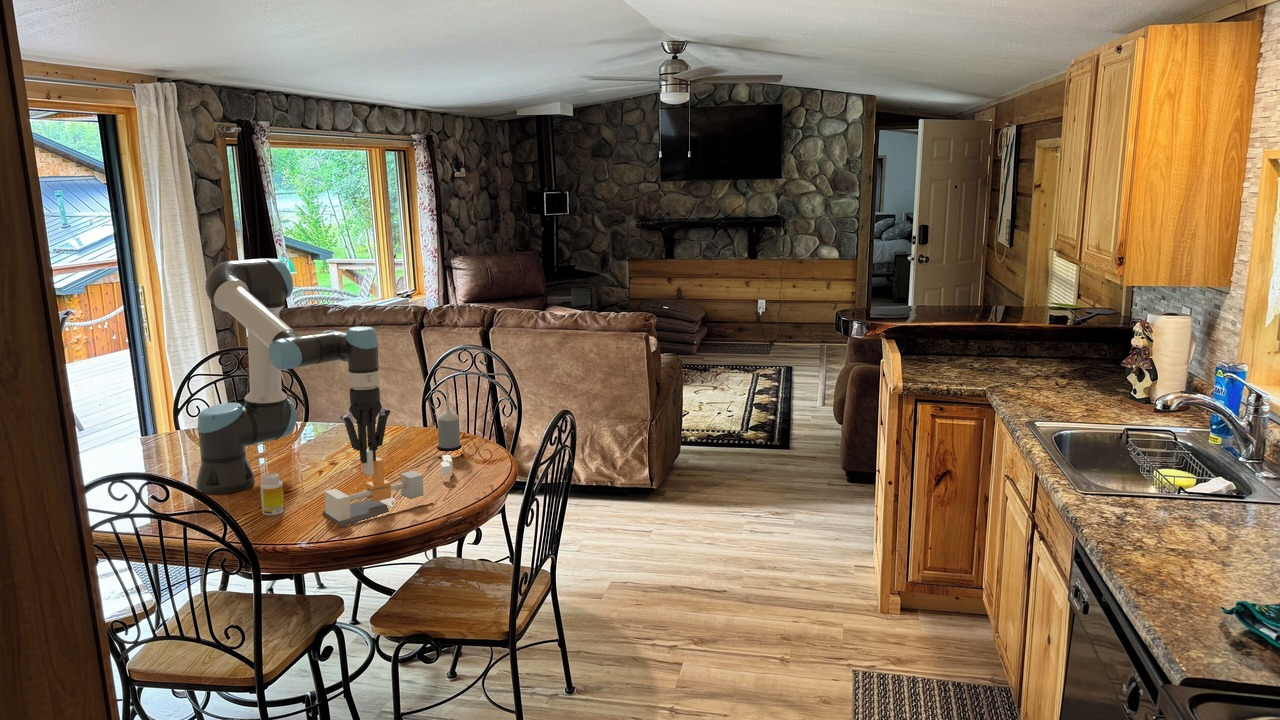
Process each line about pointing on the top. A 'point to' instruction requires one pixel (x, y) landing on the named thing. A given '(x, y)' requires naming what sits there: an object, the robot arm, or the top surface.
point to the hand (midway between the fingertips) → (368, 473)
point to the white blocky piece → (446, 465)
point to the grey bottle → (448, 428)
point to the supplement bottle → (272, 495)
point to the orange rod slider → (378, 483)
